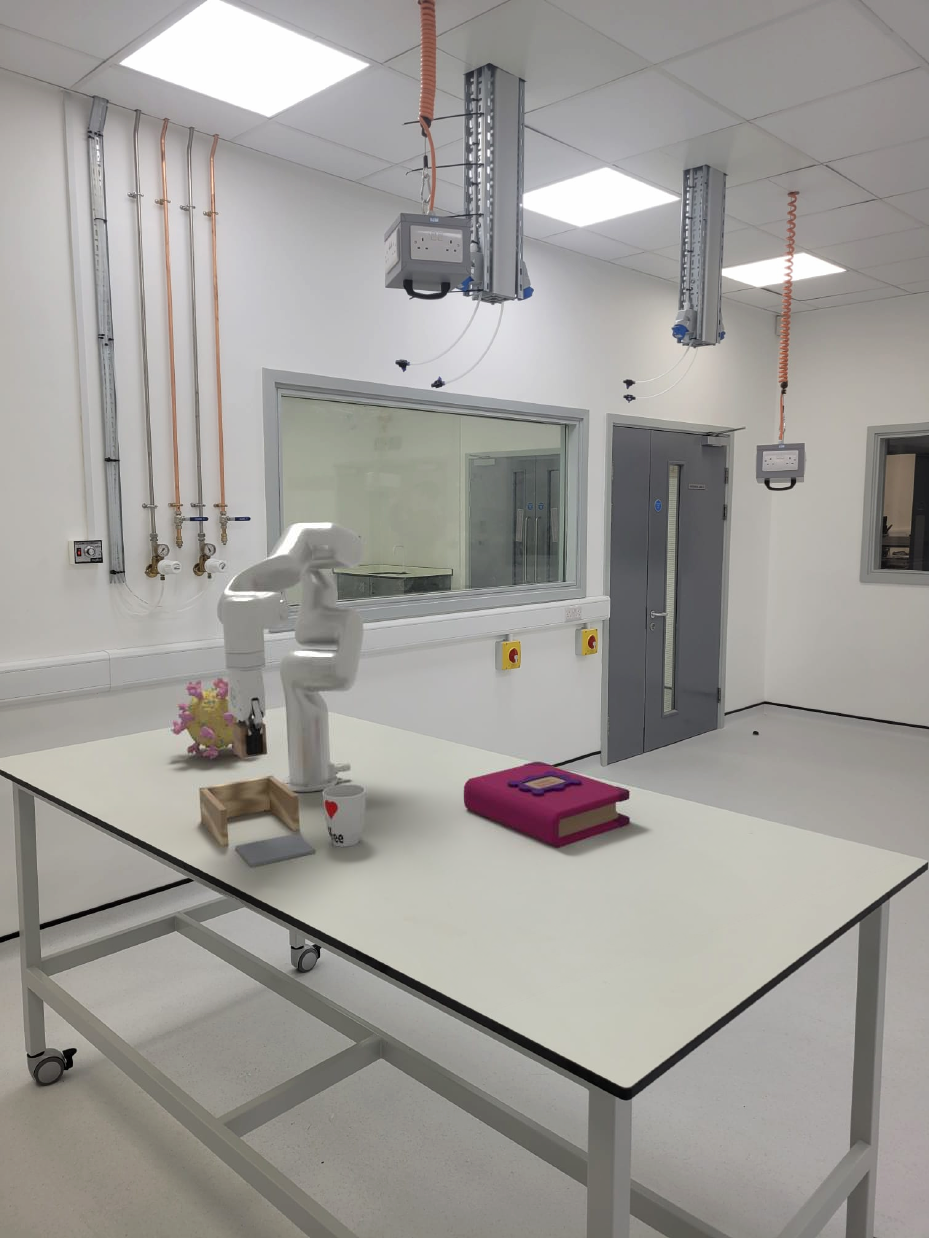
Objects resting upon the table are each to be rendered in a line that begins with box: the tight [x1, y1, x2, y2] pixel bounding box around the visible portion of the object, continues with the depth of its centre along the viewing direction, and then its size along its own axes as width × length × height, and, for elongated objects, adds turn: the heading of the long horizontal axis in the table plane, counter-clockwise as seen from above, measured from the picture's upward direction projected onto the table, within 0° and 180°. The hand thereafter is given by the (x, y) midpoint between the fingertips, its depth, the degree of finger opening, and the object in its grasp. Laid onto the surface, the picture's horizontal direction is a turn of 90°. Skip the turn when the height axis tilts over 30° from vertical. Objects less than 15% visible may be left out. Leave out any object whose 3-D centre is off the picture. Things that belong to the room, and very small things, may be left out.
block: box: [233, 721, 268, 759], centre depth 171 cm, size 5×5×6 cm
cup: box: [322, 784, 367, 848], centre depth 166 cm, size 8×8×10 cm
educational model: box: [169, 677, 238, 760], centre depth 228 cm, size 23×22×20 cm
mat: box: [235, 832, 316, 868], centre depth 162 cm, size 12×10×1 cm
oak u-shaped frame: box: [198, 775, 301, 847], centre depth 176 cm, size 15×16×7 cm
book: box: [463, 761, 631, 848], centre depth 177 cm, size 21×28×8 cm
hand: (250, 749), depth 172 cm, fingers closed on block, 5 cm apart
